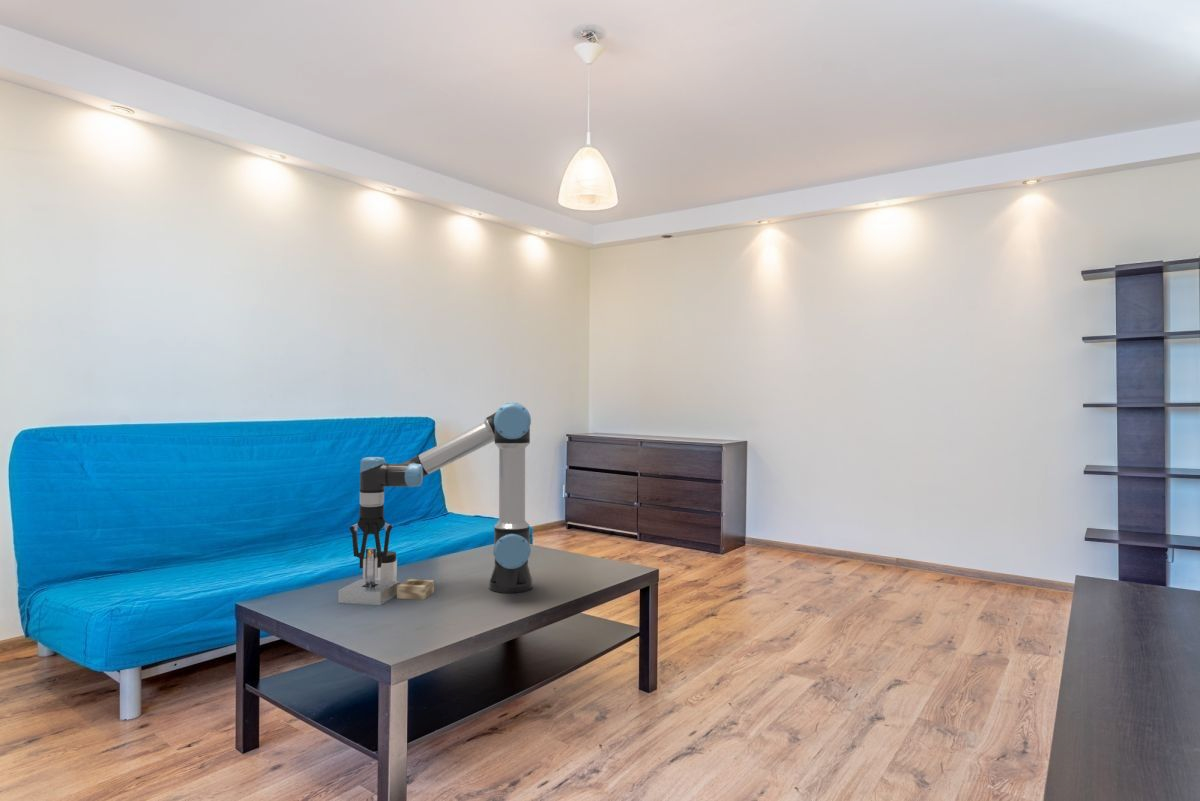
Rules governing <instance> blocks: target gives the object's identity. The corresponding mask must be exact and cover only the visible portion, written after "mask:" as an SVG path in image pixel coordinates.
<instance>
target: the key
mask: <svg viewBox="0 0 1200 801" xmlns="http://www.w3.org/2000/svg"><path fill="white" fill-rule="evenodd" d="M376 552H377V551H376V547H368V548H367V547H366V549H365V557H366V579H365V587H372V588H373V587H375V579H374V578H375V558H376Z"/></svg>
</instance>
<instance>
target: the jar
mask: <svg viewBox="0 0 1200 801" xmlns="http://www.w3.org/2000/svg"><path fill="white" fill-rule="evenodd" d="M381 551H382V550H381ZM383 551H384V550H383ZM383 551H382V552H383ZM376 557H377V551H376ZM397 572H398V559H397V552H396V551H393V550H388V553H387V555H386V556H383V557H382V565H381V568H378V577H377V579H375V580H384V581H398V579H397V577H398V576H397V574H398V573H397Z"/></svg>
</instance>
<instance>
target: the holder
mask: <svg viewBox="0 0 1200 801" xmlns="http://www.w3.org/2000/svg"><path fill="white" fill-rule="evenodd" d="M434 593H435V580H434V579H418V578H417V579H416V578H408V579H406V580H404V581H403V582H400V584H399V585H397V596H396V598H397V599H402V600H418V601H419V600H426V599H427V598H428V597H430V596H431V595H432V594H434Z"/></svg>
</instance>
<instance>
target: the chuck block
mask: <svg viewBox="0 0 1200 801" xmlns="http://www.w3.org/2000/svg"><path fill="white" fill-rule="evenodd" d="M399 584H401V581H400V580H397V581H384V580H375V587H373V588H372V587H365V579H363V578H362V579H361V578H360V579H358V580H356V581H354V582H352V583H349V584H347V585H346V586H344V587H342V588H339V589H338V592H337V593H338V594H337V595H338V597H337V598H338V600H337V601H338V602H337V603H338V604H348V605H349V604H351V605H364V606H365V605H366V606H367V605H368V606H369V605H370V606H383V604H385V603H387V602H388V601H390V600H392V599H394V598H395V597H397V585H399Z"/></svg>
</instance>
